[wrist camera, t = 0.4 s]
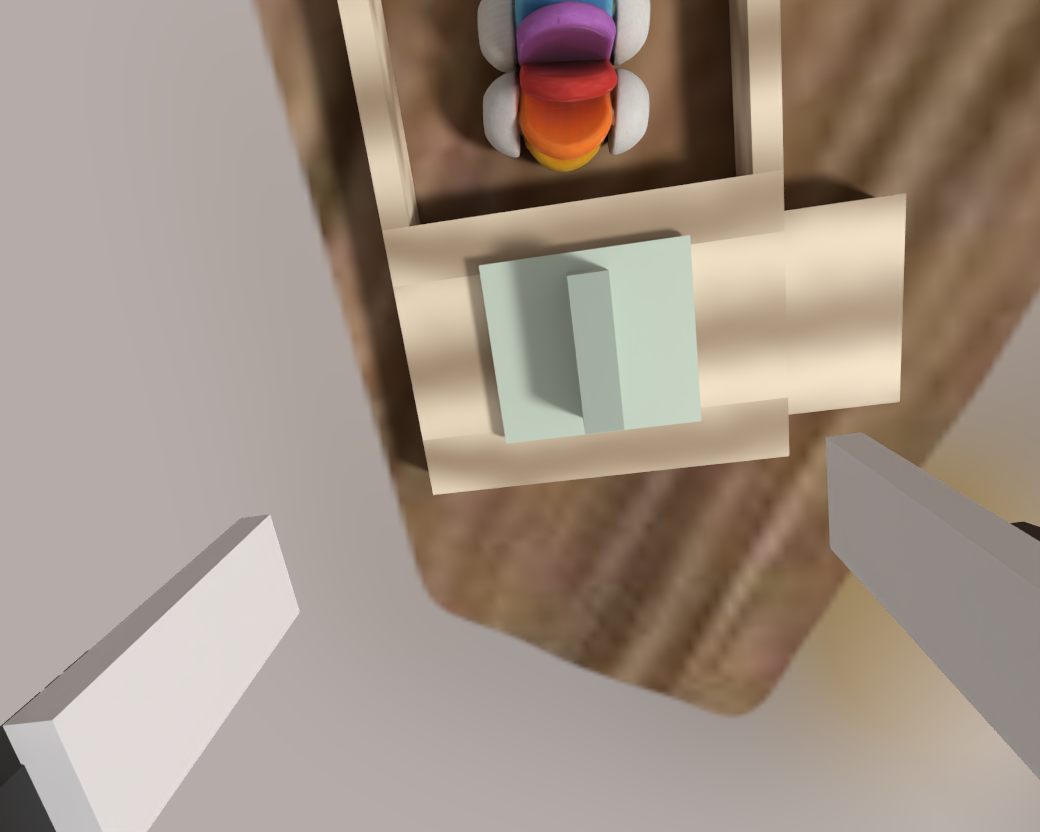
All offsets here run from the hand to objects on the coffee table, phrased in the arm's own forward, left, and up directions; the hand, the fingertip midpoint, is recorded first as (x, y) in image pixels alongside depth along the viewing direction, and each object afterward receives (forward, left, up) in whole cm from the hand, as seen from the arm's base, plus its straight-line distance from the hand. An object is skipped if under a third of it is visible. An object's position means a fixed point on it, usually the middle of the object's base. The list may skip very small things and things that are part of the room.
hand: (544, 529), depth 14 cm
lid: (-1, +2, -20) cm, 20 cm away
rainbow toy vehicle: (-15, +3, -24) cm, 28 cm away
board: (-8, +5, -24) cm, 25 cm away
